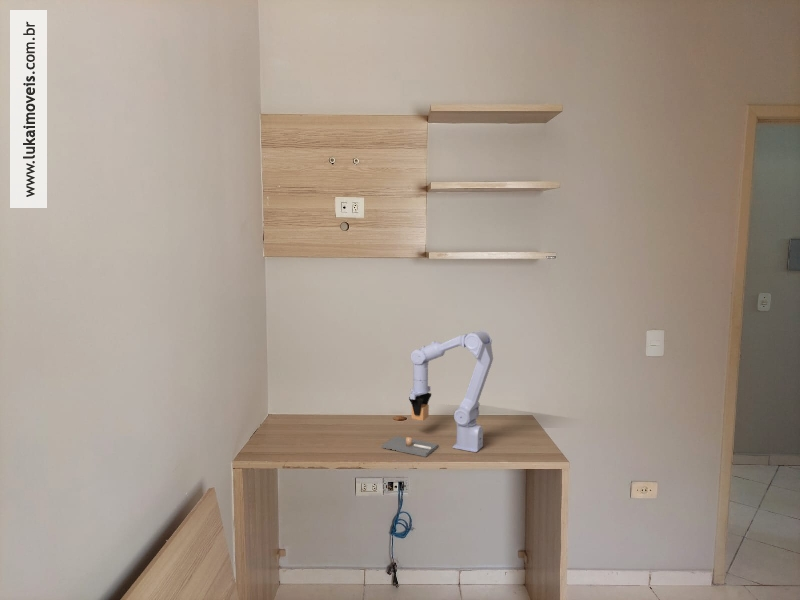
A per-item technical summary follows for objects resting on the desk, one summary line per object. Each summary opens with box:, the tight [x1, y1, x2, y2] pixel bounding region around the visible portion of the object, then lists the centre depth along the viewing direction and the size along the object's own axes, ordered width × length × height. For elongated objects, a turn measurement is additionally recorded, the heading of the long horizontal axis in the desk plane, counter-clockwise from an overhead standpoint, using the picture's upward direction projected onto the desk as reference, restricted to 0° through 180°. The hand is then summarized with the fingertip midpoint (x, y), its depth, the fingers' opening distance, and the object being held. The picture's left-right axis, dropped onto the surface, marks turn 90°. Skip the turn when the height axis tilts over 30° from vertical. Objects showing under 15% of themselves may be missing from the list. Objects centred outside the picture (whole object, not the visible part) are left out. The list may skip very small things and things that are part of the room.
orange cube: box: [411, 404, 430, 421], centre depth 204 cm, size 5×5×5 cm
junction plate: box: [381, 435, 439, 457], centre depth 192 cm, size 18×11×4 cm, turn 62°
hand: (420, 413), depth 204 cm, fingers closed on orange cube, 5 cm apart
